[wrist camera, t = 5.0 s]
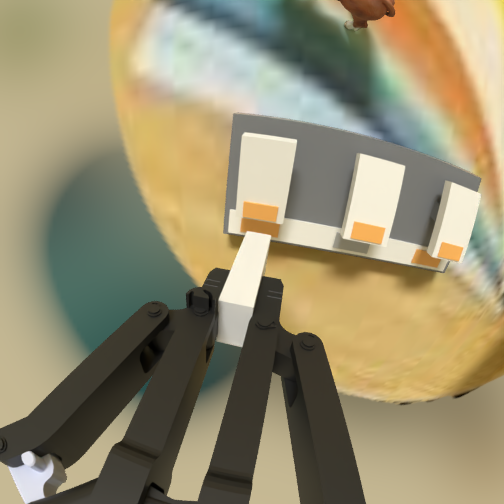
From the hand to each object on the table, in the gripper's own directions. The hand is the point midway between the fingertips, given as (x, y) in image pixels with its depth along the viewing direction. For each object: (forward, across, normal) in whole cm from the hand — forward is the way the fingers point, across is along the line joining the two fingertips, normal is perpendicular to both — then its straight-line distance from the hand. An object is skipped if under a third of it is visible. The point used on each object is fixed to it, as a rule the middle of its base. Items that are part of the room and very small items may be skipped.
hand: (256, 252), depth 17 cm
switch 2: (+7, -17, -3) cm, 19 cm away
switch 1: (+6, +1, -3) cm, 7 cm away
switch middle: (+7, -8, -3) cm, 11 cm away
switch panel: (+11, -8, -2) cm, 14 cm away
